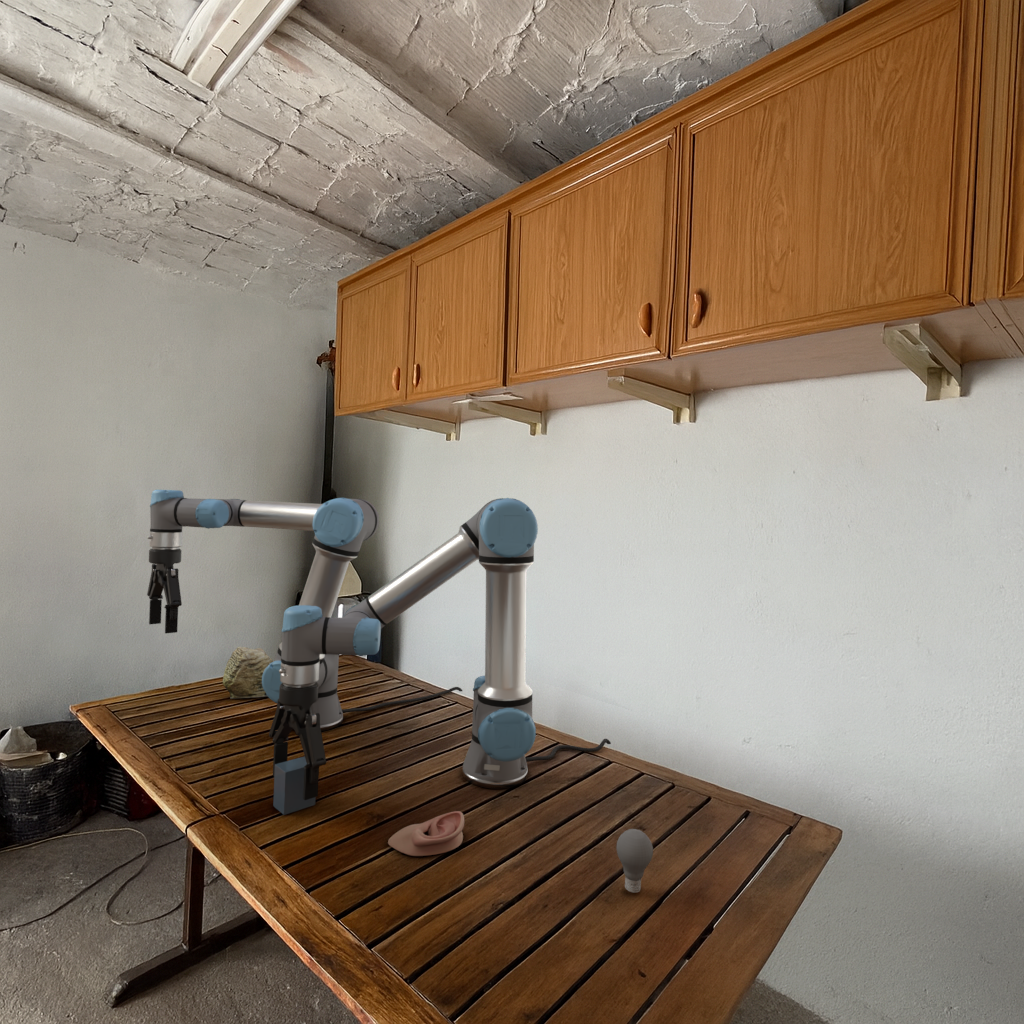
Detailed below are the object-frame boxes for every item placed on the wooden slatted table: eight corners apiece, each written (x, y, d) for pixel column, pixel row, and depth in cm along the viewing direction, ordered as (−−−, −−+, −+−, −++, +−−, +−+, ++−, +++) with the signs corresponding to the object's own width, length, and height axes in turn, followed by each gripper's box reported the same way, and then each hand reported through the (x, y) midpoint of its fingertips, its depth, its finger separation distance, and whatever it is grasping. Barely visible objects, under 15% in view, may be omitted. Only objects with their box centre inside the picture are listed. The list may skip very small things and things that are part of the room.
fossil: (218, 695, 195) (220, 647, 195) (278, 685, 208) (279, 640, 207) (228, 703, 189) (230, 653, 188) (289, 692, 201) (290, 645, 201)
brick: (273, 806, 129) (274, 764, 129) (304, 796, 134) (305, 755, 134) (283, 815, 125) (285, 772, 125) (315, 804, 130) (317, 763, 130)
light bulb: (610, 879, 108) (613, 822, 108) (644, 879, 109) (647, 822, 109) (619, 902, 102) (622, 840, 102) (655, 901, 103) (658, 840, 103)
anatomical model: (381, 829, 114) (405, 800, 125) (380, 851, 114) (404, 820, 125) (452, 840, 111) (469, 809, 122) (451, 862, 111) (469, 830, 123)
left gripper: (136, 544, 173) (133, 621, 174) (164, 552, 156) (161, 638, 156) (166, 544, 179) (163, 618, 179) (197, 551, 161) (194, 634, 161)
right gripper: (255, 671, 135) (251, 769, 136) (311, 701, 118) (306, 814, 118) (289, 666, 141) (284, 760, 141) (347, 694, 123) (342, 802, 123)
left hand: (162, 628), depth 168 cm, fingers open, 13 cm apart
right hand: (294, 785), depth 129 cm, fingers open, 13 cm apart
